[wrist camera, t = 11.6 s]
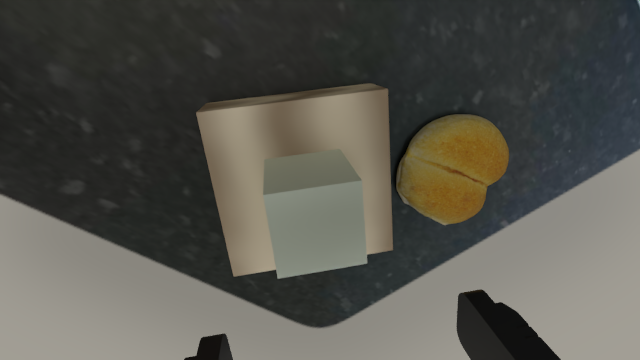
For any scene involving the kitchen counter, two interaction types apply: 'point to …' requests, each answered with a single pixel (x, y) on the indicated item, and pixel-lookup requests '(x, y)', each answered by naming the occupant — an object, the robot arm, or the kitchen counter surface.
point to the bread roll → (452, 167)
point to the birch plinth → (293, 139)
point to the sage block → (314, 213)
